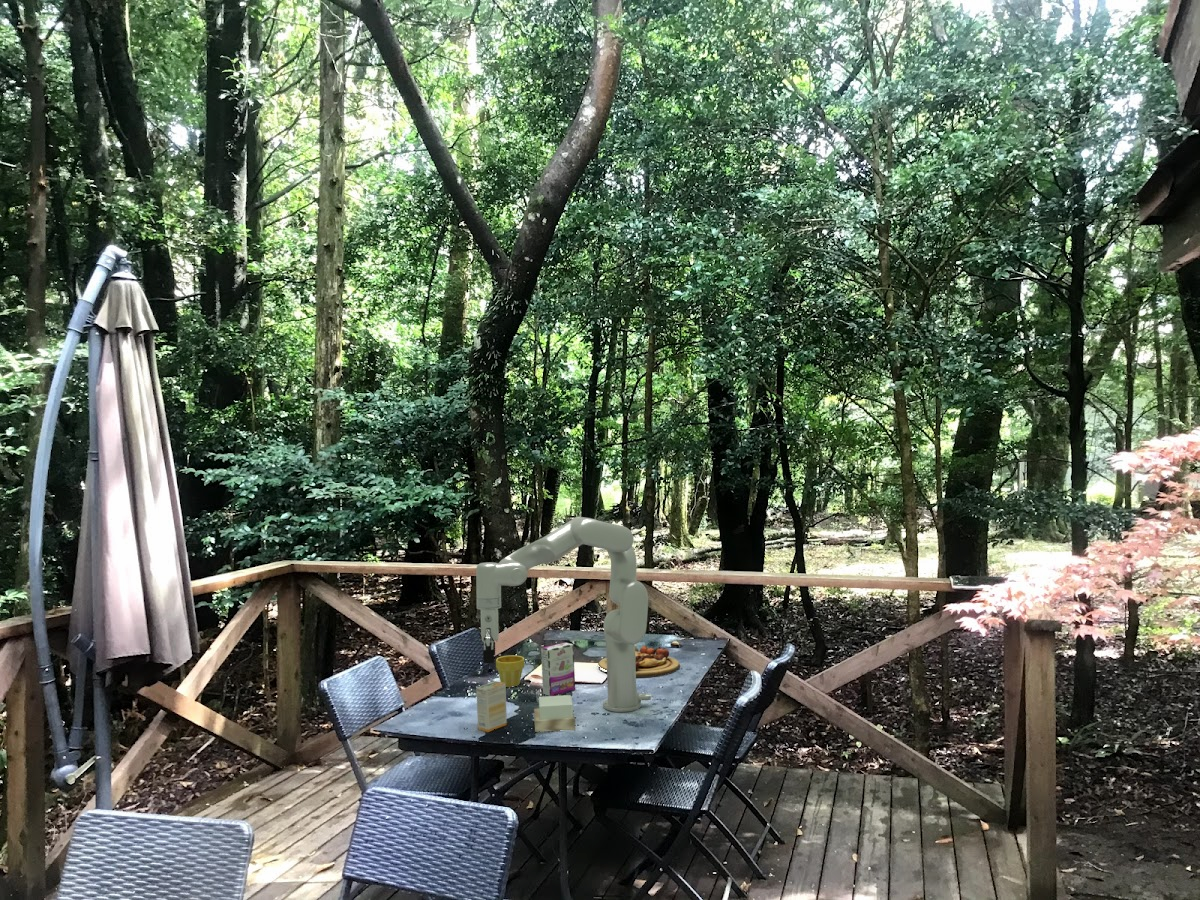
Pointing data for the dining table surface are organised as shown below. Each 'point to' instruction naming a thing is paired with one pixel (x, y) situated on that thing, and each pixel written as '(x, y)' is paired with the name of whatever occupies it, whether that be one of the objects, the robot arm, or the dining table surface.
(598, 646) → the dining table surface
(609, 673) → the robot arm
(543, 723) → the tower base block
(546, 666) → the candy bar box
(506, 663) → the plant pot
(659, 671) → the wooden plate with food
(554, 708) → the tower top block
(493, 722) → the supplement box
